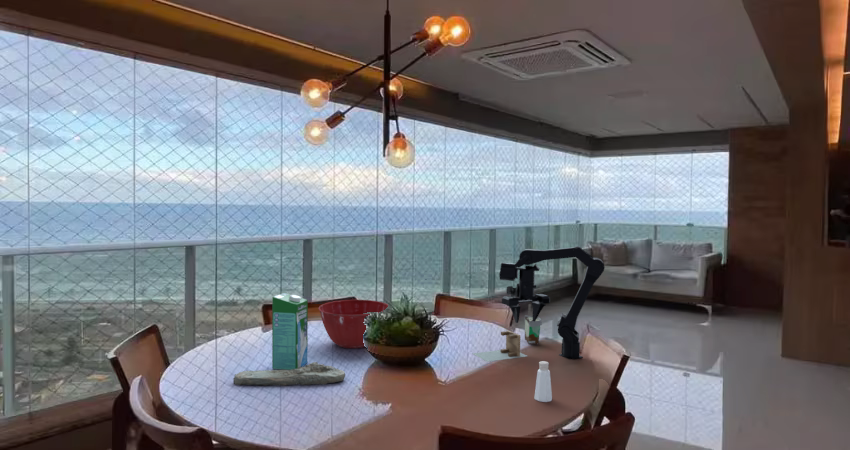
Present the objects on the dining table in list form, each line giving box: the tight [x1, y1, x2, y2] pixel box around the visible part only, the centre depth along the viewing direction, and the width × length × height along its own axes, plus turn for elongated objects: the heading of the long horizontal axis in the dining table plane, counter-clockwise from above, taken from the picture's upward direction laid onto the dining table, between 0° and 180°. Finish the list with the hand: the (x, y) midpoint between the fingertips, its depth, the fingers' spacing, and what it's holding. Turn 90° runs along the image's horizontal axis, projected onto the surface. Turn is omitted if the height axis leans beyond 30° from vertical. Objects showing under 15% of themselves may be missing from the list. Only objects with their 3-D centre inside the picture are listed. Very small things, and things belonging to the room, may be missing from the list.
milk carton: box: [271, 292, 309, 370], centre depth 186 cm, size 9×9×25 cm
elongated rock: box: [232, 361, 346, 387], centre depth 171 cm, size 35×5×10 cm
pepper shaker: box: [533, 360, 553, 403], centre depth 158 cm, size 5×5×11 cm
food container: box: [524, 315, 543, 345], centre depth 222 cm, size 12×6×10 cm, turn 179°
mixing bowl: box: [318, 299, 389, 349], centre depth 216 cm, size 28×28×15 cm
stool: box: [500, 330, 521, 357], centre depth 203 cm, size 8×4×8 cm, turn 25°
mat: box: [472, 349, 528, 363], centre depth 202 cm, size 11×18×1 cm, turn 115°
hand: (525, 322), depth 206 cm, fingers open, 8 cm apart
